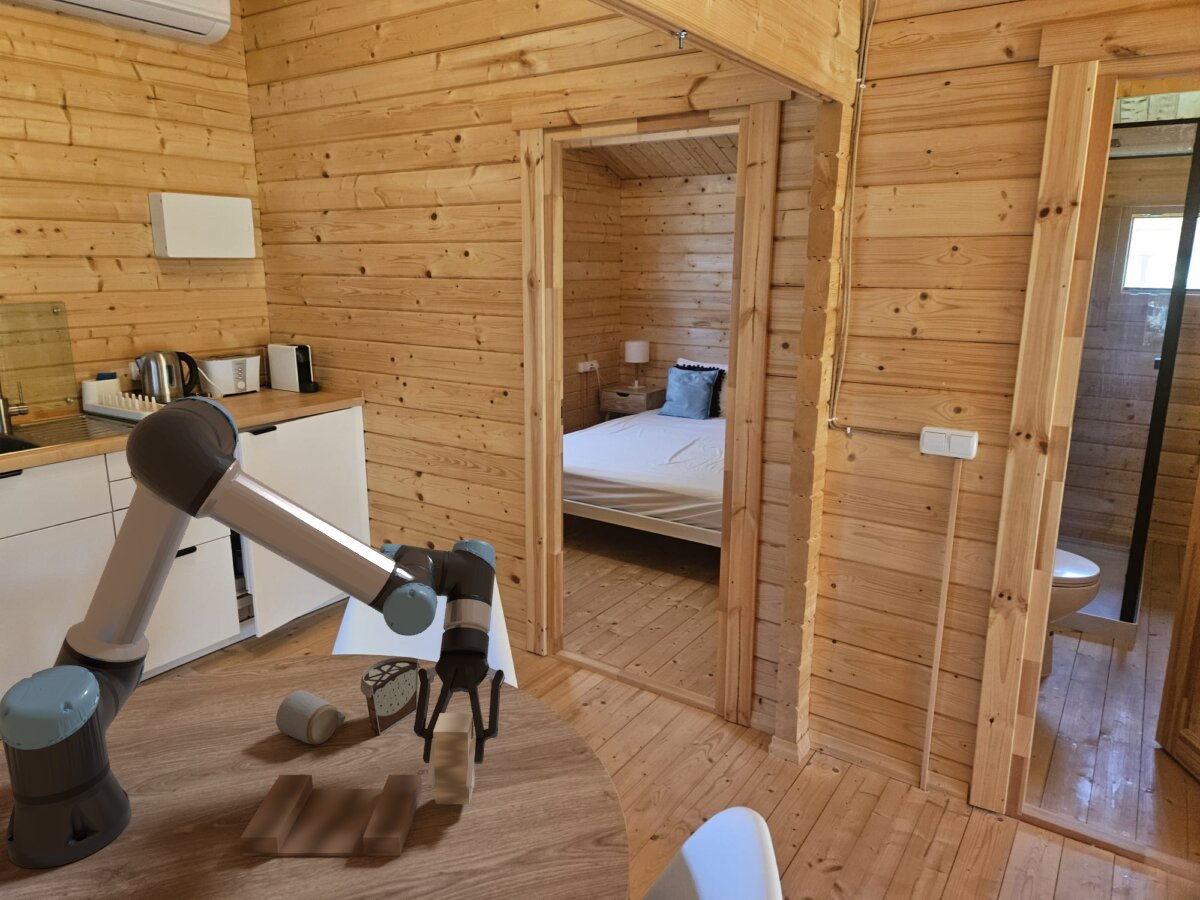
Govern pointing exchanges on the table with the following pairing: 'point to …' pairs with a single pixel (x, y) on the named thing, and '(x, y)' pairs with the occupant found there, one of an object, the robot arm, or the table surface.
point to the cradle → (332, 819)
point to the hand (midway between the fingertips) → (450, 786)
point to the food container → (390, 691)
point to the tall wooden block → (452, 757)
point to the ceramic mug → (308, 717)
